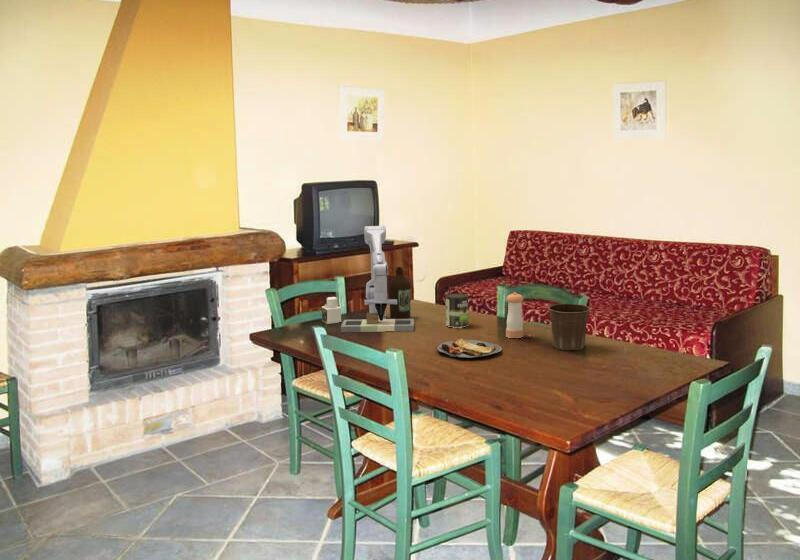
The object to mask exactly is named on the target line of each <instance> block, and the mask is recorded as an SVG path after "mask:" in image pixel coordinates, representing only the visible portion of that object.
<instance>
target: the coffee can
mask: <svg viewBox="0 0 800 560" xmlns="http://www.w3.org/2000/svg"><path fill="white" fill-rule="evenodd" d="M446 326H448V327H453V328H452V329H457V327H458V329H463V328H462V327H466V326H468V327H469V295H468V294H466V293H459V292H458V293H448V294H445V327H446ZM448 327H447V328H448ZM454 327H455V328H454ZM466 328H467V327H466Z"/></svg>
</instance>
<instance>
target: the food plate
mask: <svg viewBox="0 0 800 560" xmlns="http://www.w3.org/2000/svg"><path fill="white" fill-rule="evenodd" d="M435 348H436V350H437V352H440V353H443V354H445V355H448V356H450V357H452V358H453V357H454V358H455V357H456V358H463V359H464V358H465V359H466V358H467V359H470V358H471V359H475V358H482V357H486V356H490V355H493V354H494V355H495V354H497V353H500V352H501V350H502V347H501V345H498V344H497V343H494V342H490V341H484V340H478V339H477V340H476V339H463V338H462V337H458V338H457V339H456V340H450V341H443V342H441V343H439V344H438V345H437V346H436V347H435Z"/></svg>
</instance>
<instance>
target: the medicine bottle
mask: <svg viewBox="0 0 800 560" xmlns="http://www.w3.org/2000/svg"><path fill="white" fill-rule="evenodd" d="M338 305H339V303H338V296H334V295H329V296H326V297H324V305H323V306H321V321H322V322H323V323H325V324H326V325H330V324H339V322H341V323H342V307H340V306H338Z"/></svg>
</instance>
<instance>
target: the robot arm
mask: <svg viewBox="0 0 800 560" xmlns="http://www.w3.org/2000/svg"><path fill="white" fill-rule="evenodd" d="M363 231H364V233H363V235H364V242H365V244H367V245H368V246H369V249H370V250H369V251H370V269H371V270H370V274H371V276H370V277H371V279H370V280H369V281H367V282H366V284H365V298H366V299H364V306H367V305H368V307H369V312H368V313H378V319H380V321H383V319H387V314H386V313H385V312H386V309H387V306H388V305H390V304H397V299H389V298H388V275H389V267H388V263H387V261H386V254H385V252H384V251H383V249H382V248H383V247H382V245H383V244H385V241H386V239H387V229H386V226H385V225H369V226H367V225H365V226H364V228H363Z"/></svg>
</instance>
